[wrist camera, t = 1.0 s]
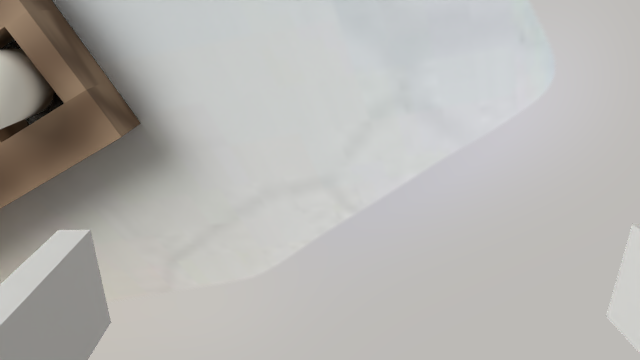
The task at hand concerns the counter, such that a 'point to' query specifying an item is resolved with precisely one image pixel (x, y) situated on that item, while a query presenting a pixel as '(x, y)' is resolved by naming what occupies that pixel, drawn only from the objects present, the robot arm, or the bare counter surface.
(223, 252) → the counter surface
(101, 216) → the counter surface
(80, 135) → the console
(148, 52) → the counter surface
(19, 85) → the button cream
